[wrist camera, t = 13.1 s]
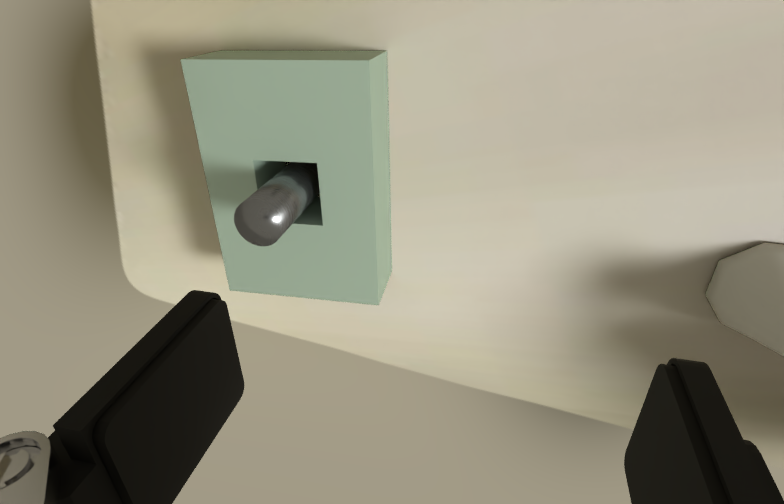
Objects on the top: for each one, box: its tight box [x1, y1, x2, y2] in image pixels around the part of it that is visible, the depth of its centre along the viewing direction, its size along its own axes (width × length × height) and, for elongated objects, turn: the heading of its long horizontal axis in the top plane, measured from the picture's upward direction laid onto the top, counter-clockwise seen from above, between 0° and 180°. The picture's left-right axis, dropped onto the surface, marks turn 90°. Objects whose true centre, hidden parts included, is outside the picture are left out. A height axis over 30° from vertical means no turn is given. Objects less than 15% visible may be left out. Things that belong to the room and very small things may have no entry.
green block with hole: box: [181, 50, 392, 305], centre depth 35 cm, size 17×12×5 cm
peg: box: [234, 162, 320, 246], centre depth 33 cm, size 3×3×10 cm
